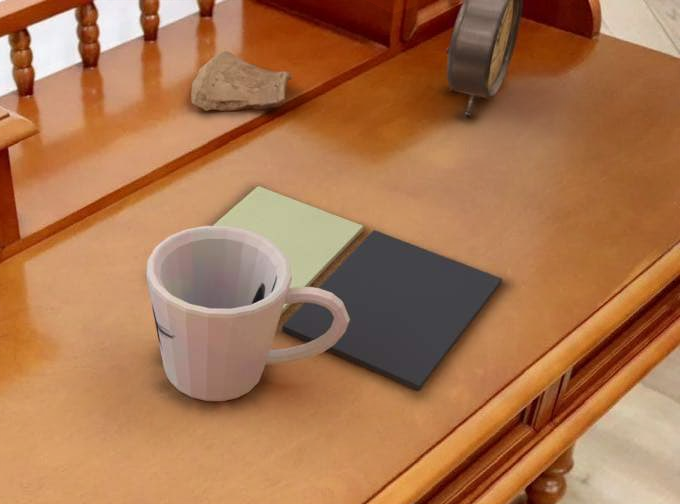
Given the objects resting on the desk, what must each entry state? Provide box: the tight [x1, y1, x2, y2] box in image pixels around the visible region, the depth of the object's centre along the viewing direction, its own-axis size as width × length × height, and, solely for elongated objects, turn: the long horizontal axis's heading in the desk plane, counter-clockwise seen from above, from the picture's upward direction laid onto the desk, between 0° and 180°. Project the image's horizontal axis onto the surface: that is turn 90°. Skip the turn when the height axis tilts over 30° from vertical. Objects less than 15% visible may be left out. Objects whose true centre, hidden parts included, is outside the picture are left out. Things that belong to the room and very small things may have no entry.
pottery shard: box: [190, 50, 292, 112], centre depth 115 cm, size 11×4×10 cm
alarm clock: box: [446, 0, 524, 118], centre depth 110 cm, size 11×5×16 cm, turn 150°
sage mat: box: [212, 185, 364, 316], centre depth 95 cm, size 11×16×1 cm
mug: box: [146, 225, 350, 402], centre depth 81 cm, size 10×15×10 cm
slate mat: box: [281, 229, 503, 392], centre depth 90 cm, size 12×16×1 cm
